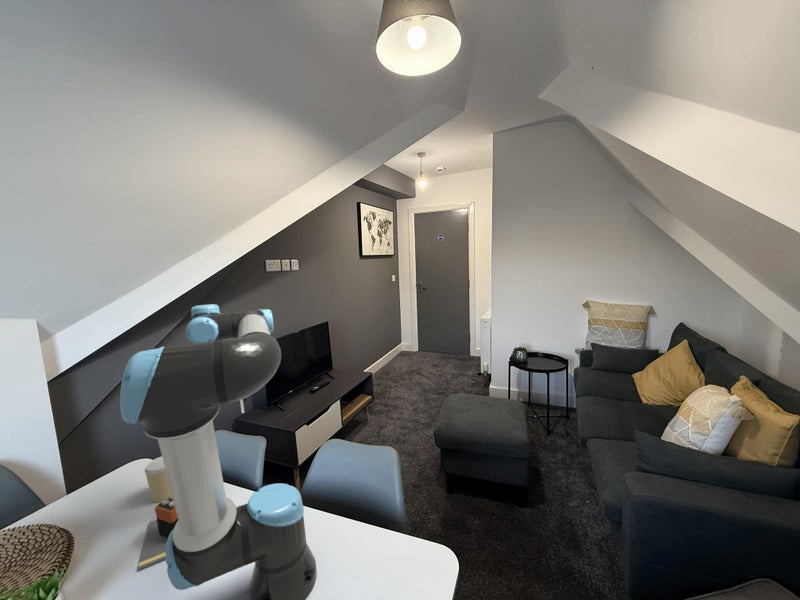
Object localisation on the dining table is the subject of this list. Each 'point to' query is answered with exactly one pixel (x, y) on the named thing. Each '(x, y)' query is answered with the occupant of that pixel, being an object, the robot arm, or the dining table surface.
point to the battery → (166, 516)
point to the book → (153, 547)
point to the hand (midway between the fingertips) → (219, 417)
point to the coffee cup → (158, 480)
